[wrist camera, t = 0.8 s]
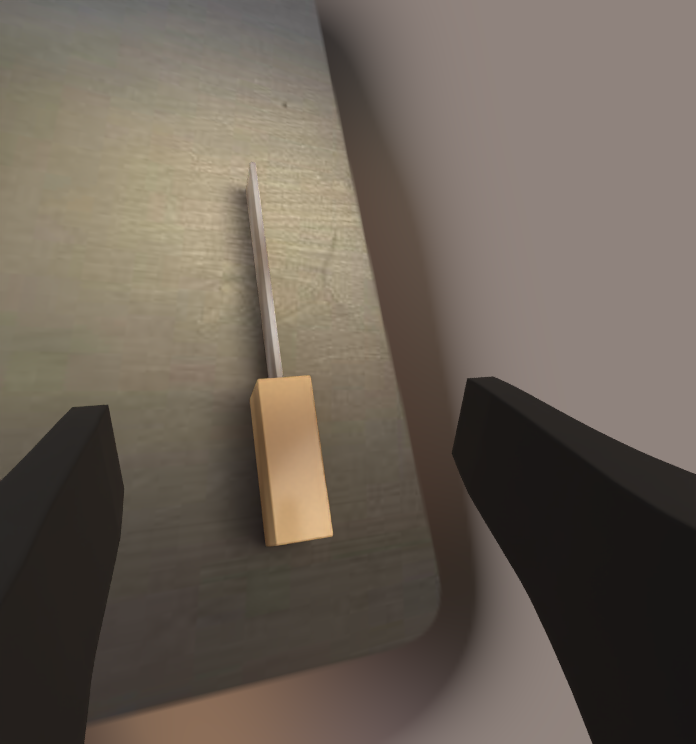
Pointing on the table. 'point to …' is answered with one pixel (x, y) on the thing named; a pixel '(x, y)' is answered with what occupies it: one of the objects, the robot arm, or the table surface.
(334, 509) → the table surface
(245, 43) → the table surface
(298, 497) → the cake knife
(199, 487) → the table surface
